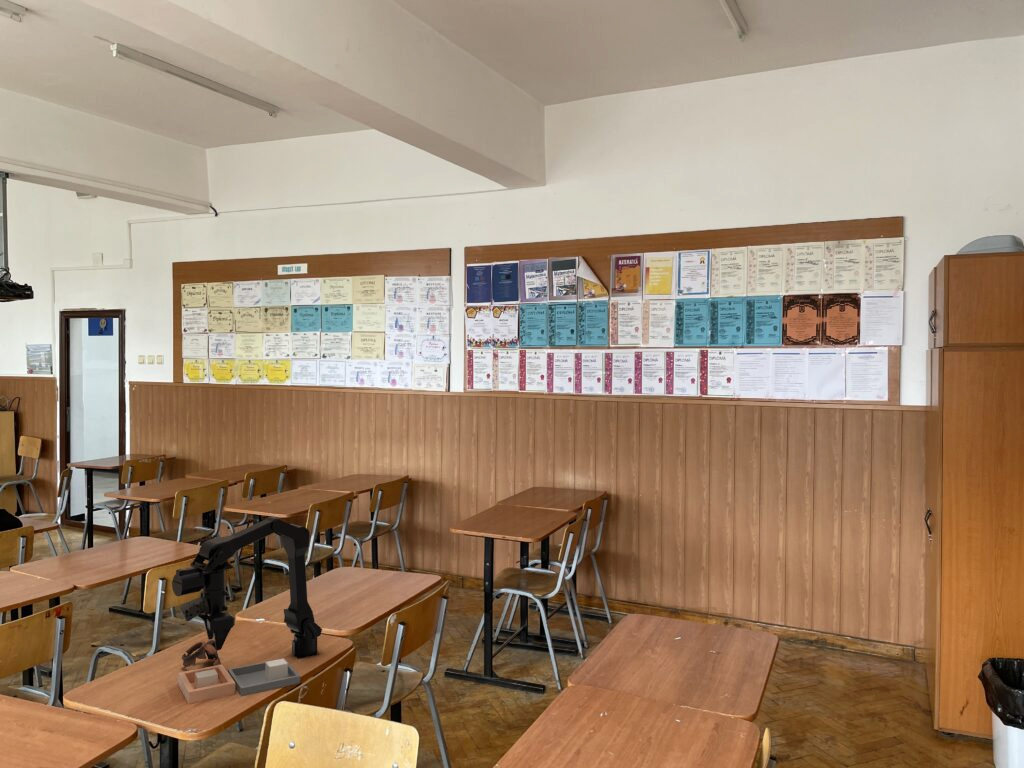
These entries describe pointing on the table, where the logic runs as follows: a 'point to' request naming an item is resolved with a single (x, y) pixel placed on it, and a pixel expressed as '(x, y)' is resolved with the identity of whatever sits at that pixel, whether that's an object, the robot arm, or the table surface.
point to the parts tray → (259, 679)
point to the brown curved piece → (201, 653)
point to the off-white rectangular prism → (276, 669)
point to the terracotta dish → (210, 692)
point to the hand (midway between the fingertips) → (214, 644)
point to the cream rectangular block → (206, 678)
